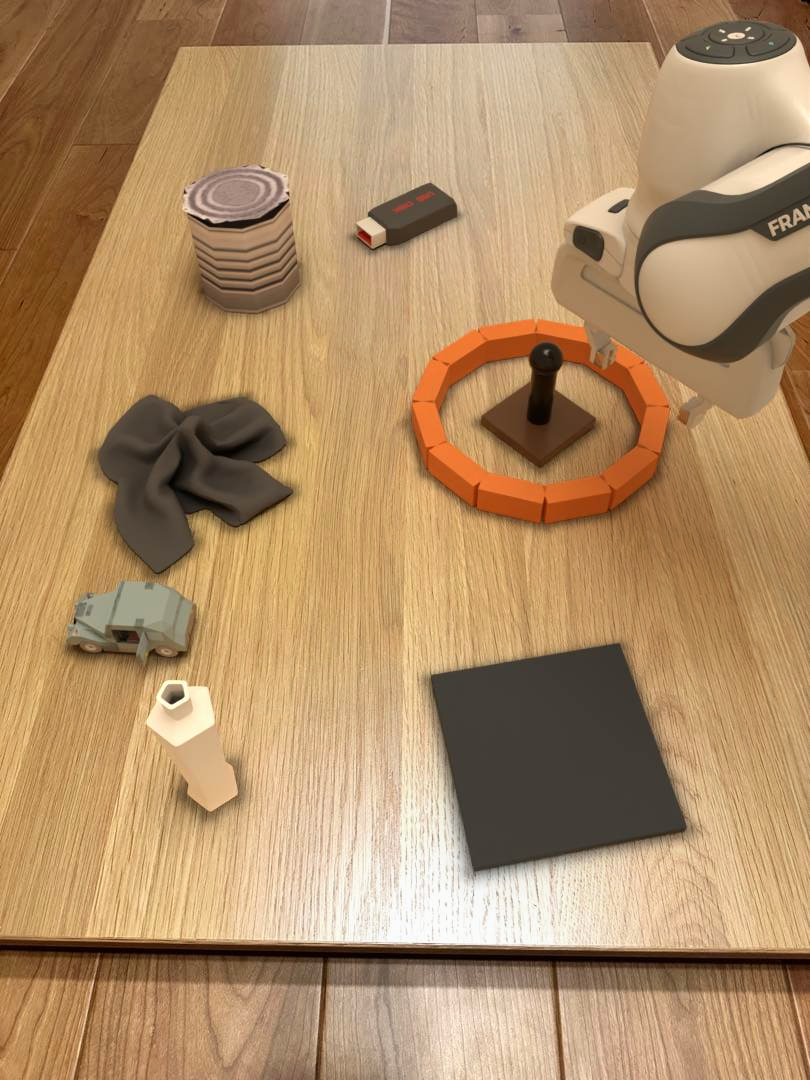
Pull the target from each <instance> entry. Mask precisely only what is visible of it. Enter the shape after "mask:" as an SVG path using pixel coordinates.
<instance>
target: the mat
mask: <svg viewBox="0 0 810 1080" xmlns="http://www.w3.org/2000/svg"><path fill="white" fill-rule="evenodd" d="M430 683H431V687H432V691H433V696H434V700H435V705H436V709H437V714H438V718H439V723H440V726H441V727H440V728H441V732H442V735H443V739H444V744H445V749H446V753H447V756H448V763H449V767H450V771H451V776H452V780H453V784H454V789H455V793H456V797H457V803H458V807H459V811H460V815H461V820H462V824H463V829H464V833H465V838H466V841H467V842H466V843H467V847H468V851H469V856H470V859H471V864H472V868H473V872H477V871H483V870H487V869H488V870H489V869H492V868H498V867H504V866H509V865H514V864H519V863H526V862H529V861H530V862H531V861H535V860H541V859H546V858H551V857H556V856H562V855H567V854H572V853H577V852H582V851H588V850H592V849H599V848H602V847H609V846H614V845H620V844H624V843H631V842H635V841H640V840H645V839H650V838H656V837H661V836H666V835H672V834H677V833H683V832H685V831H686V830H687V828H688V825H687V823H686V820H685V817H684V815H683V812H682V809H681V807H680V804H679V801H678V798H677V795H676V793H675V790H674V787H673V784H672V781H671V778H670V776H669V773H668V771H667V768H666V766H665V762H664V760H663V758H662V755H661V751H660V750H659V747H658V743H657V741H656V738H655V735H654V733H653V730H652V727H651V724H650V722H649V719H648V715H647V714H646V711H645V708H644V705H643V702H642V699H641V697H640V695H639V692H638V688H637V686H636V683H635V680H634V678H633V676H632V673H631V670H630V667H629V664H628V661H627V659H626V656H625V653H624V650H623V648H622V645H621V643H620V642H616V643H610V644H604V645H598V646H592V647H586V648H581V649H576V650H570V651H563V652H558V653H552V654H546V655H540V656H533V657H528V658H522V659H516V660H510V661H504V662H500V663H494V664H493V663H492V664H488V665H480V666H476V667H470V668H463V669H457V670H452V671H446V672H439V673H435V674H431V675H430Z"/></svg>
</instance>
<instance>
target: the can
mask: <svg viewBox="0 0 810 1080" xmlns="http://www.w3.org/2000/svg"><path fill="white" fill-rule="evenodd" d="M182 197H183V198H182V209H181V210H182V211H183V212H185V213H186V216H187V221H188V226H189V229H190V230H189V231H190V234H191V238H192V242H193V246H194V250H195V255H196V256H195V257H196V260H197V265H198V269H199V273H200V278H201V282H202V287H203V291H204V296H205V299H206V300H208V301H209V302H210V303H212V304H214V305H215V306H217V307H218V308H220V309H221V310H223V311H225V312H226V313H241V314H255V315H256V314H257V315H258V314H260V313H263V312H265V311H269V310H271V309H273V308H276V307H279V306H282V305H285V304H286V303H287V302H289V300H290V298H291V297H293V295H294V293H296V291H297V290H298V289H299V287H301V279H300V271H299V263H298V255H297V247H296V240H295V233H294V232H295V231H294V224H293V216H292V209H291V202H290V201H291V200H290V183H289V175H287V174H284V173H281V172H278V171H276V170H274V169H271V168H268V167H265V166H263V165H259V164H249V165H241V166H233V167H225V168H216V169H213V170H212V171H210V172H209V173H207V174H205V175H203V176H201V177H199V178H198V179H196V180H195V181H193V182H192V183H190V184H188V185H187V186H185V187H183V196H182Z"/></svg>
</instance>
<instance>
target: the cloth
mask: <svg viewBox="0 0 810 1080" xmlns="http://www.w3.org/2000/svg"><path fill="white" fill-rule="evenodd" d="M287 442H288V441H287V438H286V437H285V435H284V433H283V430H282V428H281V425H280V424H279V423H278V422H277V421H276V420H275V419H274V417H273V416H272V415H271V414H270V412H269V411H268V410H267V409H266V408H264V407H263V406H262V405H261V404H259V403H258V402H256V401H254V400H252V399H249V397H248V396H247V397H246V396H238V397H232V398H227V399H222V400H219V401H214V402H211V403H206V404H203V405H199V406H196V407H192V408H190V409H187V410H186V411H184V412H182V410H180V408H179V407H178V406H176V404H174V403H172V402H170V401H168V400H164V399H161V398H160V397H159V396H157V395H155V394H147V395H145V396H143V397H142V398H140V399H138V401H136V402H135V403H133V405H132V406H130V407H129V409H128V410H127V411H126V412H125V413H124V414H123V415H122V416H121V417H120V418H119V419H118V420H117V421H116V422H115V424H114V425H112V427H111V428H110V429H109V431H108V432H107V434H106V436H105V438H104V441H103V443H102V445H101V446H100V448H99V451H98V453H97V459H98V462H99V466H100V468H101V470H102V472H103V473H104V475H105V476H106V477H107V478H108V479H109V480H111V481H113V482H114V483H117V490H116V491H117V492H116V497H115V503H114V508H113V518H114V522H115V525H116V528H117V529H118V532H119V533H120V535H121V537H122V539H123V540H124V542H125V543H126V544H127V546H128V547H129V548H130V549H131V550H132V552H134V553H135V554H136V555H137V556H138V557H139V558H140V559H141V560H142V561H143V562H144V564H146V566H148V567H149V568H150V569H151V570H152V571H153V572H154V573H155V574H160V573H162V572H164V571H165V570H166V569H168V568H170V567H171V566H172V565H174V564H175V563H176V562H178V561H179V560H180V559H181V558H182V557H184V556H185V555H186V554H187V553H188V552H189V551H191V549H192V548H193V546H194V544H195V539H193V536H192V531H191V528H190V525H189V521H188V517H187V515H186V514H188V515H189V514H193V513H197V512H200V511H202V510H209V511H211V512H212V513H213V514H214V515H215V516H216V517H218V518H220V519H221V520H222V521H223V522H225V523H226V524H227V525H229V526H232V527H234V528H235V527H239V526H240V525H241V524H245V523H247V522H248V521H249V520H251V519H252V518H253V517H255V516H256V515H257V514H259V513H260V512H262V511H264V510H266V509H267V508H269V507H271V506H272V505H274V504H276V503H278V502H279V501H281V500H284V499H285V498H287V497H288V496H290V494H292V493H293V488H291V486H288V485H285V484H284V483H282V482H280V481H279V480H277V479H276V478H275V477H273V475H271V474H270V473H268V472H267V471H266V470H265V469H263V468H262V467H261V466H259V465H258V464H257V463H259V462H263V461H266V460H268V459H269V458H271V457H273V456H274V455H276V453H278V452H279V451H280V450H282V448H283V447H284V446H285V445H286V444H287Z"/></svg>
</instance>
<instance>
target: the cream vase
mask: <svg viewBox="0 0 810 1080" xmlns="http://www.w3.org/2000/svg"><path fill="white" fill-rule="evenodd" d="M155 700H156V702H155V704H154V706H153V708H151V711H150V713H149V715H148V717H147V718H146V721H145V725H146V726H147V727H148V729H149V731H151V733H152V734H153V736H154V737H155V739H156V740H157V742H158V744H160V746H161V747H162V748H163V750H164V751H165V753H166V755H167V756H168V757H169V759H170V760H171V762H172V763H173V764H174V766H175V767H176V769H177V770H178V772H179V773H180V774H181V776H182V777H183V779H184V780H185V781H186V783H187V784H188V786H187V792H186V793H187V796H189V797H190V798H191V799H192V800H194V801H195V802H197V804H199V805H200V806H201V807H202V808H204V809H205V810H206V811H208V812H213V811H215V810H217V809H218V808H220V807H221V806H223V805H224V804H226V803H227V802H229V801H230V800H231V799H233V798H235V797H236V796H238V795H239V789H238V785H237V781H236V776H235V771H234V767H233V766H232V765H231V764H230V763H228V762H227V761H226V757H225V753H224V749H223V744H222V741H221V737H220V733H219V728H218V724H217V720H216V715H215V711H214V707H213V703H212V699H211V695H210V691H209V688H208V687H207V686H203V685H202V686H199V685H198V686H197V685H196V686H195V685H194V686H189V685H188V682H187V681H186V680H182V679H181V680H180V679H178V680H175V679H174V680H173V679H172V680H171V679H168V680H165V681H164V682H163V683H162V685H161V686H160V688H159V690H158V692H157V694H156V696H155Z"/></svg>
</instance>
